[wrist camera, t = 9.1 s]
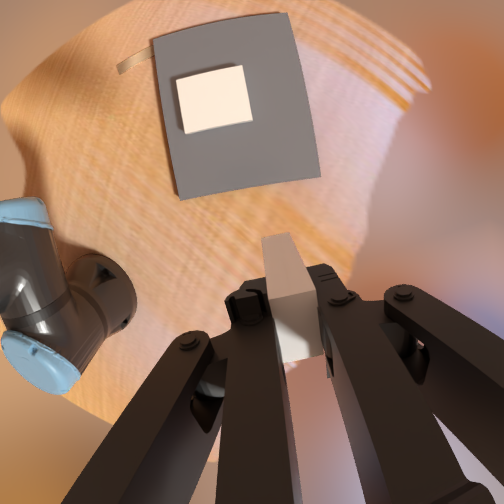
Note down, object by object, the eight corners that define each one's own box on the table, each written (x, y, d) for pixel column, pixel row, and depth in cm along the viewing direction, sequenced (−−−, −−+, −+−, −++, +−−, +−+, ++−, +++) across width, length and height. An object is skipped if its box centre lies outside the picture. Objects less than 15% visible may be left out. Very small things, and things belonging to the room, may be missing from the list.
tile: (252, 121, 34) (188, 134, 35) (242, 68, 32) (179, 83, 33) (252, 119, 33) (185, 133, 34) (242, 65, 30) (176, 80, 31)
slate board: (182, 199, 40) (180, 200, 38) (155, 42, 31) (153, 39, 30) (319, 176, 38) (321, 177, 37) (286, 15, 29) (287, 12, 28)
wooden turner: (125, 85, 34) (122, 84, 33) (116, 58, 32) (113, 56, 32) (244, 32, 31) (244, 29, 30) (231, 5, 30) (230, 3, 29)
